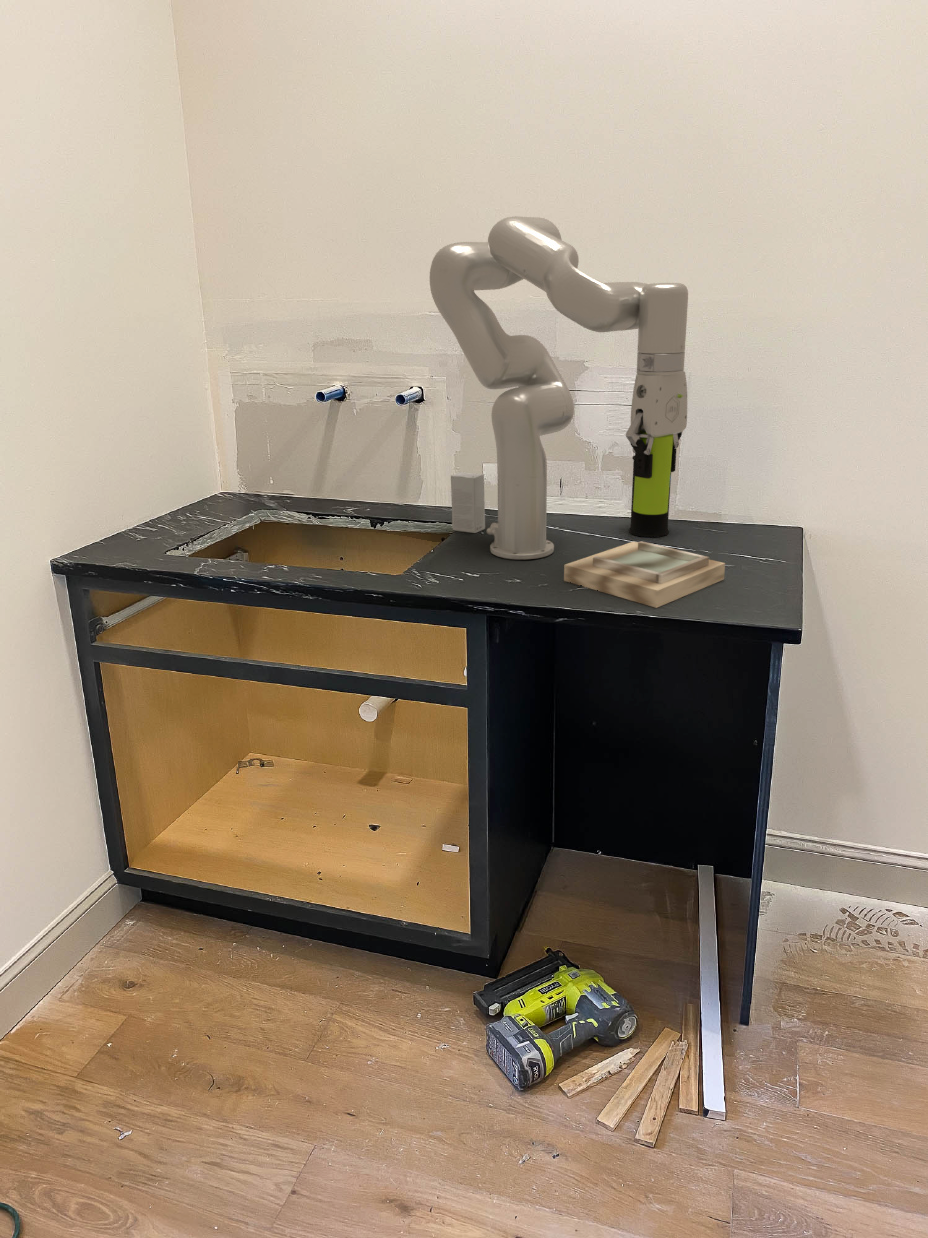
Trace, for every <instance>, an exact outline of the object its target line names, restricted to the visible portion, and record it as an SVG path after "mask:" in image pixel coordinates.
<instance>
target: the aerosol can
mask: <svg viewBox="0 0 928 1238" xmlns="http://www.w3.org/2000/svg"><path fill="white" fill-rule="evenodd" d="M632 460H633V462H632V463H633V464H632V465H633V466H632V467H633V468H632V483H631V485H632V489H631V507H630V508H631V509H630V510H631V511H630V528H629V530H628V531H629V533H630V534H631V535H632V536H636V537H641V538H659V537H660V538H661V537H665V536H667V535H668V534H669V533H670V531H669V513H670V499H671V498H670V497H671V481H672V472H671V473H670V486H669V499H668V511H667V513H664V514H658V515H648V514H640V513H636V512H634V511H633V499H634V483H635V475H634V468H635V454H634V455H632ZM664 535H665V536H664Z"/></svg>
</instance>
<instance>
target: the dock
mask: <svg viewBox="0 0 928 1238" xmlns="http://www.w3.org/2000/svg"><path fill="white" fill-rule="evenodd" d="M563 567H564V568H563V569H564V570H563V581H564V582H566V583H567V582H568V583H570V582H571V583H570V584H572V585H577V586H580V585H582V586H581V587H585V588H587V589H591V590H594V591H597V590H598V591H597V592H600V593H601V592H602V593H604V594H608V595H611V596H615V597H619V598H620V599H625V600H628V601H631V602H634V603H639V604H642V605H645V606H648V607H652V608H656V609H657V608H659V607H661V606H664V605H666V604H669V603H671V602H673V601H674V602H675V601H677V600H678V599H681V598H682V597H685V596H688V595H691V594H692V593H693V594H694V593H695V592H697V591H700V590H702V589H704V588H706V587H709V586H712V585H714V584H716V583H718V582H721V581H723V580H725V572H726V571H725V570H726V563H725V562H721V561H717V560H714V559H710V557H709V556H705V555H702V554H698V553H693V552H689V551H685V550H681V549H676V548H672V547H668V546H663V545H659V544H654V543H651V542H646V541H642V540H641V541H638V542H637V541H630V542H628V543H625V544H623V545H618V546H616V547H613V548H609V549H607V550H605V551H601V552H599V553H595V554H592V555H589V556H587V557H583V558H580V559H576V560H574V561H571V562H569V563H566V564H564V565H563Z"/></svg>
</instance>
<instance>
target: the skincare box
mask: <svg viewBox="0 0 928 1238" xmlns="http://www.w3.org/2000/svg"><path fill="white" fill-rule="evenodd" d="M450 490H451V491H450V493H451V495H450V496H451V522H452V523H451V525H452V526H451V527H452V529H451V530H452V531H457V532H463V533H464V532H465V533H470V534H471V533H472V534H477V533H479V532H481V531H483V530H485V529H486V512H485V511H486V508H485V507H486V506H485V503H486V502H485V475H484V474H483V473H482V474H481V473H473V472H462V471H460V472H457V473H455V474H451V475H450Z"/></svg>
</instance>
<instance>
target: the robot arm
mask: <svg viewBox="0 0 928 1238" xmlns="http://www.w3.org/2000/svg"><path fill="white" fill-rule="evenodd" d="M578 267H579V253H578V251H577V250H576V248H575V247H574V246H573V245H572V244H570V243H567V242H566V241H564V240H562V236H561V233H560V230H559V229H558V227H557V225H556V224H554V222H552V221H551V220H549V219H547V218H545V217H538V216H537V217H536V216H533V217H532V216H508V217H505V218H503V219H502V218H501V220H499V221H497V222H496V223H495V224H494V225H493V226H492V228H491V229H490V232H489V233H488V237H487V241H459V242H454V243H449V244H446V245H445V246H443V247H442V248H440V249H439V250H438V251H437V252H436V253H435V255H434V256H433V258H432V261H431V265H430V269H429V289H430V293H431V296H432V300H433V302H434V305H435V306H436V308H437V310H438V312H439V314H440V315H441V316H442V318H443V320H444V321H445V323H446V324H447V325H448V327H449V328H450V330H451V331H452V333H453V335H454V337H455V339H456V340H457V342H458V345H459V347H460V349H461V350H462V352H463V354H464V356H465V358H466V359H467V362H468V364H469V366H470V367H471V370H472V371H473V373H474V374H475V376H476V378H477V379H478V381H479V382H480V383H479V384H481V385H482V386H483V387H484V388H486V389H489V390H503V389H508V390H506V391H504V392H503V393H501V394H500V395H498V396H497V398H496V400H495V401H494V402H493V405H492V408H491V424H492V430H493V435H494V440H495V448H496V470H497V471H496V473H497V522H492V523H491V524H490V527H487V529H486V534H487V535H491V536H494V541H493V542H491V544H490V546H489V548H490V549H489V550H490V553H491V554H493V556H496V557H499V558H503V559H508V560H518V561H519V560H522V561H523V560H525V561H526V560H535V559H541V558H545V557H548V556H550V555H551V554H553V553H554V551H555V544H554V543H553V542H552V541H550V540H548V539H547V513H548V512H547V509H548V508H547V506H548V505H547V504H548V503H547V502H548V501H547V500H548V498H547V496H548V491H547V490H548V488H547V487H548V461H547V460H548V459H547V454H546V451H545V449H544V446H543V444H542V443H543V442H542V441H541V437H542V436H546V435H550V434H554V433H558V432H561V431H562V430H565V429H566V428H567V427H568V426H569V425H570V423H571V422H572V421H573V418H574V414H575V413H574V412H575V405H574V404H575V403H574V400H573V397H572V394H571V391H570V389H569V387H568V386H567V384H566V382H565V380H564V378H563V377H562V374H561V372H560V370H559V369H558V367H557V365H556V364H555V362H554V360H553V358H552V356H551V355H550V353H549V351H548V350H547V348H546V346H544V344H543V343H542V342H541V341H539V340H538V338H535V337H534V336H531V335H526V334H516V335H514V334H513V335H510V334H508V333H507V332H506V331H505V330H504V328H503V327H502V325H501V324H500V322H499V320H498V318H497V316H496V314H495V313H494V311H493V310H492V308H491V307H490V306H489V305H488V304H487V303H486V302H485V301H484V300H483V299H482V298H480V296H478V295H477V293H475V291H491V290H493V291H495V290H501V289H504V288H508V287H510V286H513V285H515V284H516V283H519V282H520V281H523V280H526V281H527V282H528V283H531V284H532V285H534V286H535V287H537V288H539V289H540V290H542V291H543V292H544V293H546V296H547V299H548V300H549V302H550V303H551V305H552V306H553V308H554V309H555V310H556V311H557V312H558V313H560V314H561V315H563V316H564V317H566V318H567V319H568V320H571V321H572V322H574V323H576V324H577V325H580V326H581V327H583V328H585V329H587V330H589V331H591V332H595V333H610V332H617V331H618V332H619V331H620V332H621V331H622V332H623V331H630V330H631V331H632V330H637V329H638V332H637V357H636V375H635V379H634V385H633V391H632V398H631V408H630V425H629V427H628V429H627V431H626V433H625V438H626V439H627V440H628V441H629V444H630V446H631V447H632V452H633V453H634V455H635V468H634V475H635V476H636V477H641V478H647V479H649V478H651V477H652V462H653V454H650V452H651V448H652V444H653V441H654V437H655V438H658V437H663V436H667V435H672V434H673V447H672V460H671V473H674V472H675V471H676V465H677V463H676V462H677V449H678V448H679V446H680V443H679V442H680V439H681V437H682V435H683V432H684V431H685V429H686V428H687V422H688V384H687V375H686V371H684V370H685V355H686V354H685V353H686V339H687V337H686V336H687V324H688V323H687V322H688V308H689V307H688V306H689V305H688V304H689V290H688V287H687V286H686V285H685V284H684V283H680V282H658V283H655V282H654V283H644V282H638V281H626V282H625V281H619V282H618V281H616V282H615V281H614V282H612V281H611V282H602V281H600V280H598V279H595V278H594V277H591V276H590V275H588V274H586V273H584V272H583V271H581V270H579V269H578ZM678 394H680V395H683V397H681V398H678ZM644 432H646V433H647V434H649V435H647V434H643V433H644ZM642 439H647V440H646V444H644V442H643V440H642Z"/></svg>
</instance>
